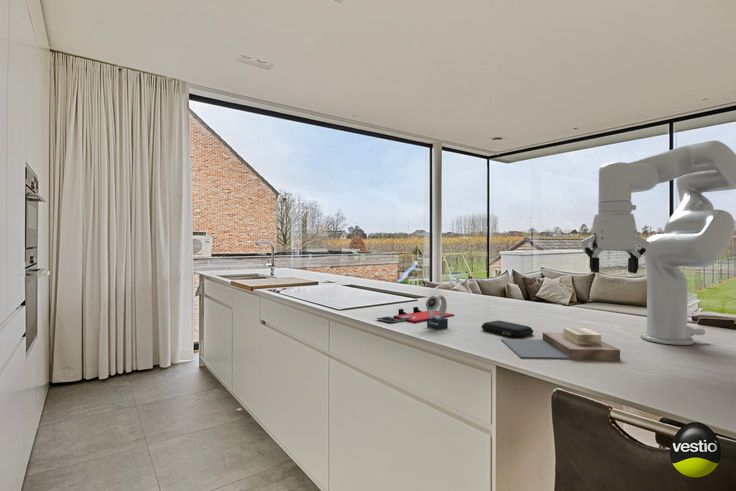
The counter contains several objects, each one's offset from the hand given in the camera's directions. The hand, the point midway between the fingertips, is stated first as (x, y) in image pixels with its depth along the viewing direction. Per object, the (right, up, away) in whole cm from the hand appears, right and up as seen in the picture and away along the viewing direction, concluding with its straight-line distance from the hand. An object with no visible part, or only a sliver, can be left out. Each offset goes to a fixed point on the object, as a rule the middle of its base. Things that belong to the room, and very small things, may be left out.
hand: (613, 272), depth 106 cm
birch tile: (-8, -19, 0) cm, 20 cm away
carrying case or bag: (-22, -22, +20) cm, 37 cm away
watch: (-43, -21, +29) cm, 56 cm away
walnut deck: (-9, -21, 0) cm, 23 cm away
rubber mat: (-21, -21, +1) cm, 30 cm away
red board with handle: (-49, -22, +46) cm, 70 cm away
